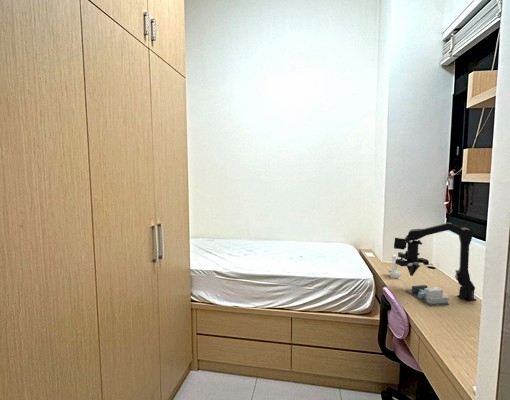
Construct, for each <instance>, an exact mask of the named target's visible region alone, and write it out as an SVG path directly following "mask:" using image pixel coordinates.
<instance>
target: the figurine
mask: <svg viewBox="0 0 510 400" xmlns="http://www.w3.org/2000/svg"><path fill="white" fill-rule="evenodd" d="M391 255H392V256H391V261H392V269H387V271H388V273H389V276H390V278H392V279H400V276H401V275H402V273H401V271H400V270H399V269H398V268H399V267H398V266H399V265H398V264H396V263H395V261H396V259H399V257H398V254H397V255H396V254H391Z"/></svg>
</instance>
